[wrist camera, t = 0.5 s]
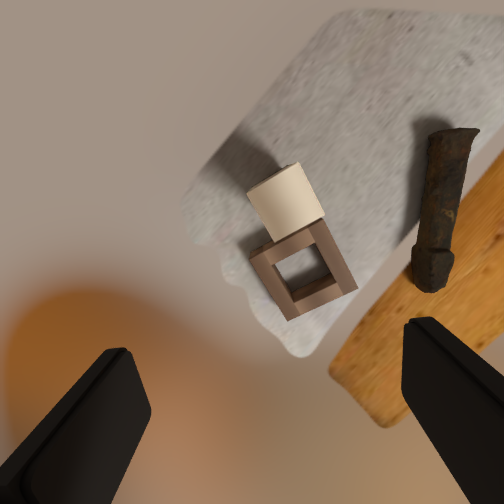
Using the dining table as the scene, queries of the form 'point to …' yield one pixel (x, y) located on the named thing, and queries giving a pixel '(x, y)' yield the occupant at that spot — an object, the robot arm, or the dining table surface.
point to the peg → (285, 201)
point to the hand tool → (440, 207)
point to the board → (314, 292)
